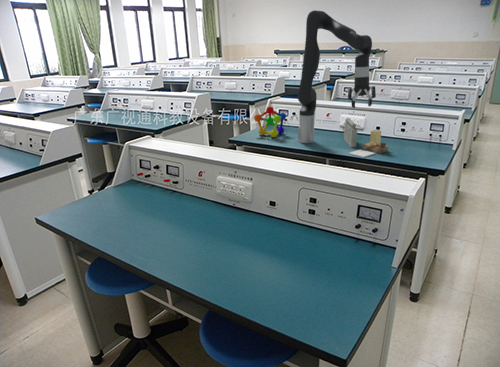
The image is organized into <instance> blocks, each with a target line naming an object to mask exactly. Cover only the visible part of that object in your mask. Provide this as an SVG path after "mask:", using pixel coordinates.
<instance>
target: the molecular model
mask: <svg viewBox="0 0 500 367" xmlns="http://www.w3.org/2000/svg"><path fill="white" fill-rule="evenodd" d="M267 114H268V117H267V118H264V117H263V116H265V115H267ZM286 118H287V114H286V113H285V112H277V111H275V110H274V108H273V106H271V105H270V106H267V107H266V108H265V111H264V112H262V113H261V114H259V113H257V114H254V116H253V119H254V121H255V122H257V124H258V127H259V130H258V134H259V136H264V135H270V137H271V138H276V137H277V136H278V134H279V135H282V134H284V132H285V128H284V127H283V126H284V125H283V123H284V120H287V119H286ZM261 121H263V122H264V121H265V122H266V123H265V125H264V127H263V126H262V124H261ZM278 123H280V125H279V126H278ZM269 125H272V126H273V129H272V130H270V131H266V129H267V128H268V127H269Z"/></svg>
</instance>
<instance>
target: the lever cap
mask: <svg viewBox="0 0 500 367" xmlns="http://www.w3.org/2000/svg"><path fill="white" fill-rule="evenodd" d="M369 138H370V139H369V142H370V145H372V146H379V145H380V144H381V140H382V131H381V130H377V129H374V130H371V131H370V135H369Z"/></svg>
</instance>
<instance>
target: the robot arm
mask: <svg viewBox="0 0 500 367" xmlns="http://www.w3.org/2000/svg"><path fill="white" fill-rule="evenodd" d="M305 22H306V25H305V26H306V27H305V42H304V43H305V45H304V53H303V59H302V67H301V68H302V69H301V78H300V83H299V89H298V92H297V101H298V102H299V103H300V105H301V107H300V109H299V126H298V127H297V128H298V129H297V130H298V132H297V138H298V140H297V141H298V142H299V143H301V144H311V143H314V142H315V112H316V110H317V98H318V97H317V92H316V90H315V88H313V87H312V86H313V82H314V78H315V76H316V74H317V71H318V68H319V65H320V59H321V58H320V56H321V50H320V46H319V43H318V32H319V30H320V29H321V30H325V31H328V32H331V33H332V34H333V36H334V37H335V38H337V39H338V40H340V41H342V42H345V43H346V44H347V45H348V46H350V47H351V48H352V49H354V50H356V51H358V54H357V56H355V58H354V80H353V81H354V82H353V83H354V88H352V87H351V88H350V87H349V88H348V91H347V100H349V101H351V107H352V108H353V109H355V108H356V99H357V98H358V97H361V96H364V97H365V96H366V97H367V98H368V99H367V102H368V103H367V107H371V106H373V103H372V102H373V99H374V98H376V86H375V85H374V86H373V85H371V86H370V74H371V73H370V55H371V52H372V48H373V40H372V38H371V36H370V35H367V34H364V35H360V34H358V33H357V31H356V30H354V29H353V28H351V27H348V26H346V25H344V24H342V23H341V22H338V20H336V19H334V18H333V17H332V16H331V15H329V14H328V13H327V12H325V11H323V10H315V9H314V10H311V11H309V13H308V15H307V17H306V21H305ZM370 91H371V94H370ZM353 92H354V94H353V96H352V93H353Z"/></svg>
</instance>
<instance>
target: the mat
mask: <svg viewBox="0 0 500 367" xmlns="http://www.w3.org/2000/svg"><path fill="white" fill-rule="evenodd" d="M348 154H349V155H352V156H355V157H359V158H363V159H364V158H367V157H371V156H373V155H376V153H375V152H371V151H367V150H363V149H361V148H360V149H356V150H354V151H350V152H348Z"/></svg>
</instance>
